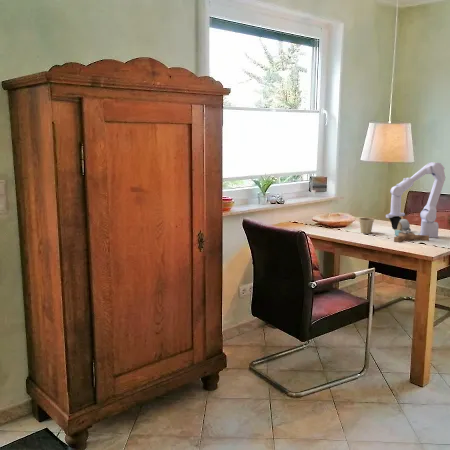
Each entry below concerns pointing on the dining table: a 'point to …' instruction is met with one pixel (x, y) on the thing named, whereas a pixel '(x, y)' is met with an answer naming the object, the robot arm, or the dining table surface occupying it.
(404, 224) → the ceramic mug
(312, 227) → the dining table surface
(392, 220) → the robot arm
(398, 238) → the brown irregular flat piece
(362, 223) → the flower pot
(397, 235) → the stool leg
